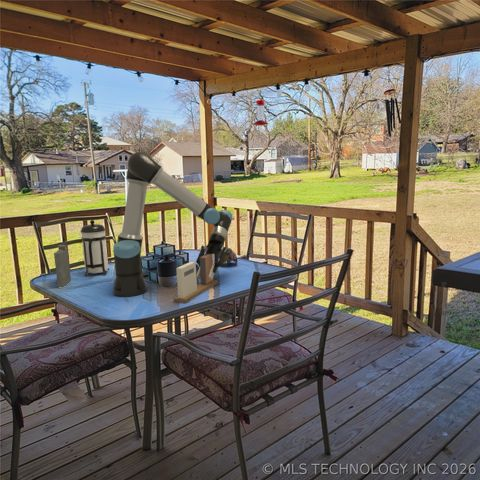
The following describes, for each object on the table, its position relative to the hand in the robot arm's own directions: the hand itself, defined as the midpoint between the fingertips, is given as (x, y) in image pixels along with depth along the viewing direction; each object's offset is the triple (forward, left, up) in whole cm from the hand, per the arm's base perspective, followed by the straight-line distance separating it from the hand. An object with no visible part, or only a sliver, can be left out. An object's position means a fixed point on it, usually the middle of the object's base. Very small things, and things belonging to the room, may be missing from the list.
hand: (204, 277), depth 185 cm
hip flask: (-68, +29, -5) cm, 74 cm away
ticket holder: (-4, -6, -5) cm, 9 cm away
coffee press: (-54, +44, -5) cm, 70 cm away
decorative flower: (+18, +40, -5) cm, 44 cm away
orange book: (+2, +2, -3) cm, 4 cm away
